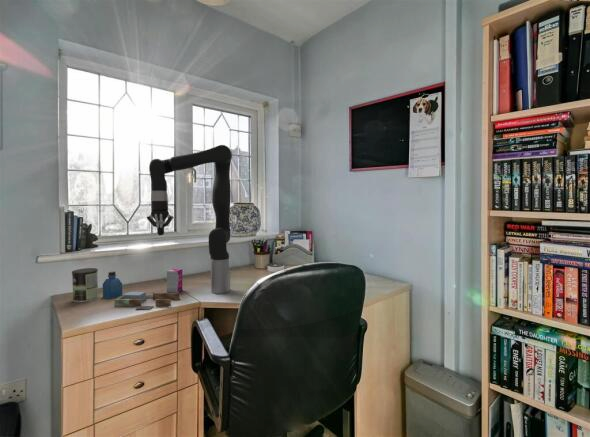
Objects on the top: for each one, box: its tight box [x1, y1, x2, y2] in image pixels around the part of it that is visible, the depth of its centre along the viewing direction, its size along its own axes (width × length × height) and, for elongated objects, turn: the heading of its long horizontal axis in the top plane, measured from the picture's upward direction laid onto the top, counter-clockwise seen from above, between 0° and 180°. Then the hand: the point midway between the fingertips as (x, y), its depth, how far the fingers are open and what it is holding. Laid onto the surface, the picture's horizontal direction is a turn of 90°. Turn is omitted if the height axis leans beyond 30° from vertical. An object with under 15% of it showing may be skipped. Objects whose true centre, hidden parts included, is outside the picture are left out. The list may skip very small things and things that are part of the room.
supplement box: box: [166, 268, 183, 293], centre depth 161 cm, size 6×6×12 cm
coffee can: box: [71, 267, 99, 303], centre depth 148 cm, size 10×10×14 cm
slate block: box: [122, 291, 147, 303], centre depth 145 cm, size 8×5×4 cm, turn 86°
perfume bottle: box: [102, 271, 123, 300], centre depth 153 cm, size 6×6×12 cm
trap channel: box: [114, 292, 181, 311], centre depth 143 cm, size 25×20×3 cm
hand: (160, 235), depth 153 cm, fingers closed
